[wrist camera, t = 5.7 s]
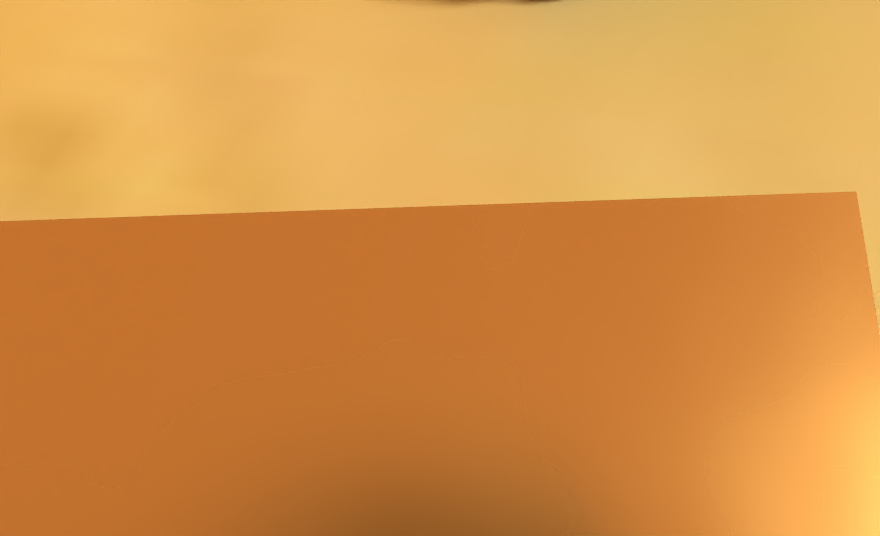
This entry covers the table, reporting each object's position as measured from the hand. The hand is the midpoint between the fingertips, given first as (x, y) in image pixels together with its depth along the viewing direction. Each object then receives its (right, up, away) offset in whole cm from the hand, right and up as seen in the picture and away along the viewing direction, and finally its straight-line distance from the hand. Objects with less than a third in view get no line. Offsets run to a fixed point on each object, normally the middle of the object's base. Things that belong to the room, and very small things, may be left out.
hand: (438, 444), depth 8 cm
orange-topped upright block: (0, -3, +6) cm, 7 cm away
